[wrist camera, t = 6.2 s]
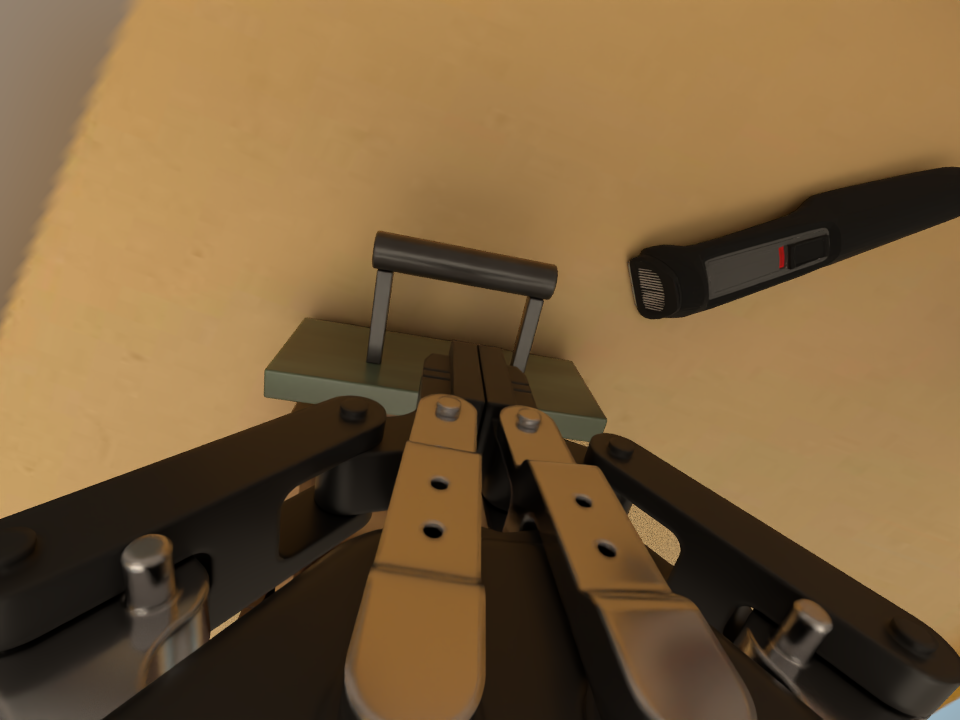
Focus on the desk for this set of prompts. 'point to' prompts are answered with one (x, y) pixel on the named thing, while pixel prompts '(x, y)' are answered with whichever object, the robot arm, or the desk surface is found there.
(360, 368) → the drawer
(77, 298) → the desk surface
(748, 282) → the electric trimmer
